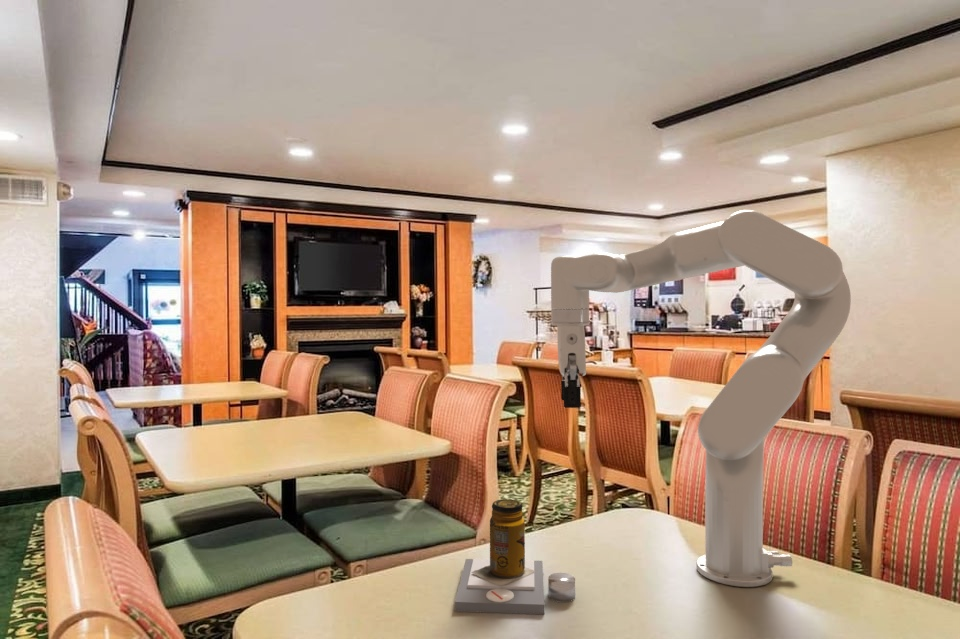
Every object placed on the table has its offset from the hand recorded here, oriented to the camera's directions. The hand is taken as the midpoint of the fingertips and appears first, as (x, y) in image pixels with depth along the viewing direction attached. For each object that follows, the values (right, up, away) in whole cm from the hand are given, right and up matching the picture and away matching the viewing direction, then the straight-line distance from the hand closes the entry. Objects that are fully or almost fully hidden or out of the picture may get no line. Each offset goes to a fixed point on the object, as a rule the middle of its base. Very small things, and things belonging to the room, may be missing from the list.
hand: (570, 403), depth 126 cm
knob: (-5, -29, -22) cm, 37 cm away
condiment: (-14, -27, -18) cm, 35 cm away
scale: (-14, -29, -19) cm, 38 cm away
